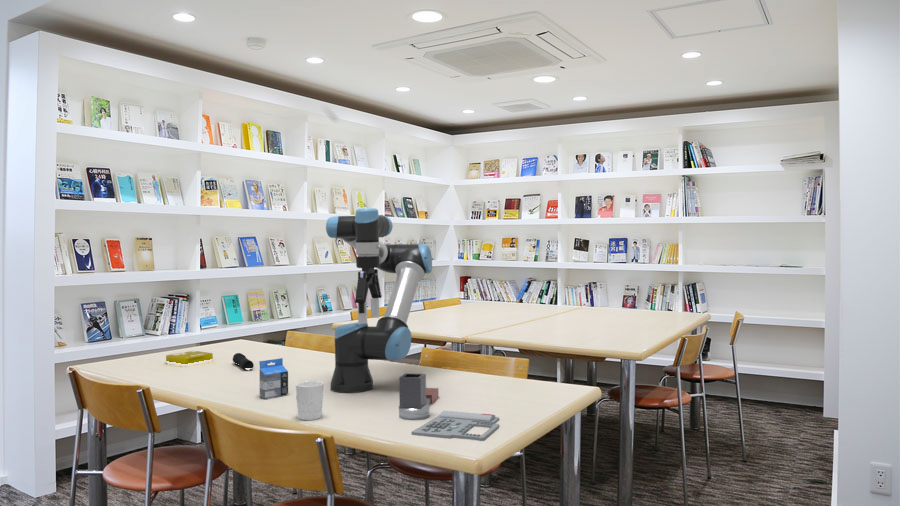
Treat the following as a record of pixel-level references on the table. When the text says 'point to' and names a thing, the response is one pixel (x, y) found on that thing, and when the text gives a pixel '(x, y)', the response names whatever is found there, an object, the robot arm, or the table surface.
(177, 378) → the table surface
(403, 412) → the grey and red tool
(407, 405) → the dark grey storage bin
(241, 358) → the flashlight
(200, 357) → the element tile
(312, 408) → the white cup
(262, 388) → the label tape cartridge
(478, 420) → the office telephone
